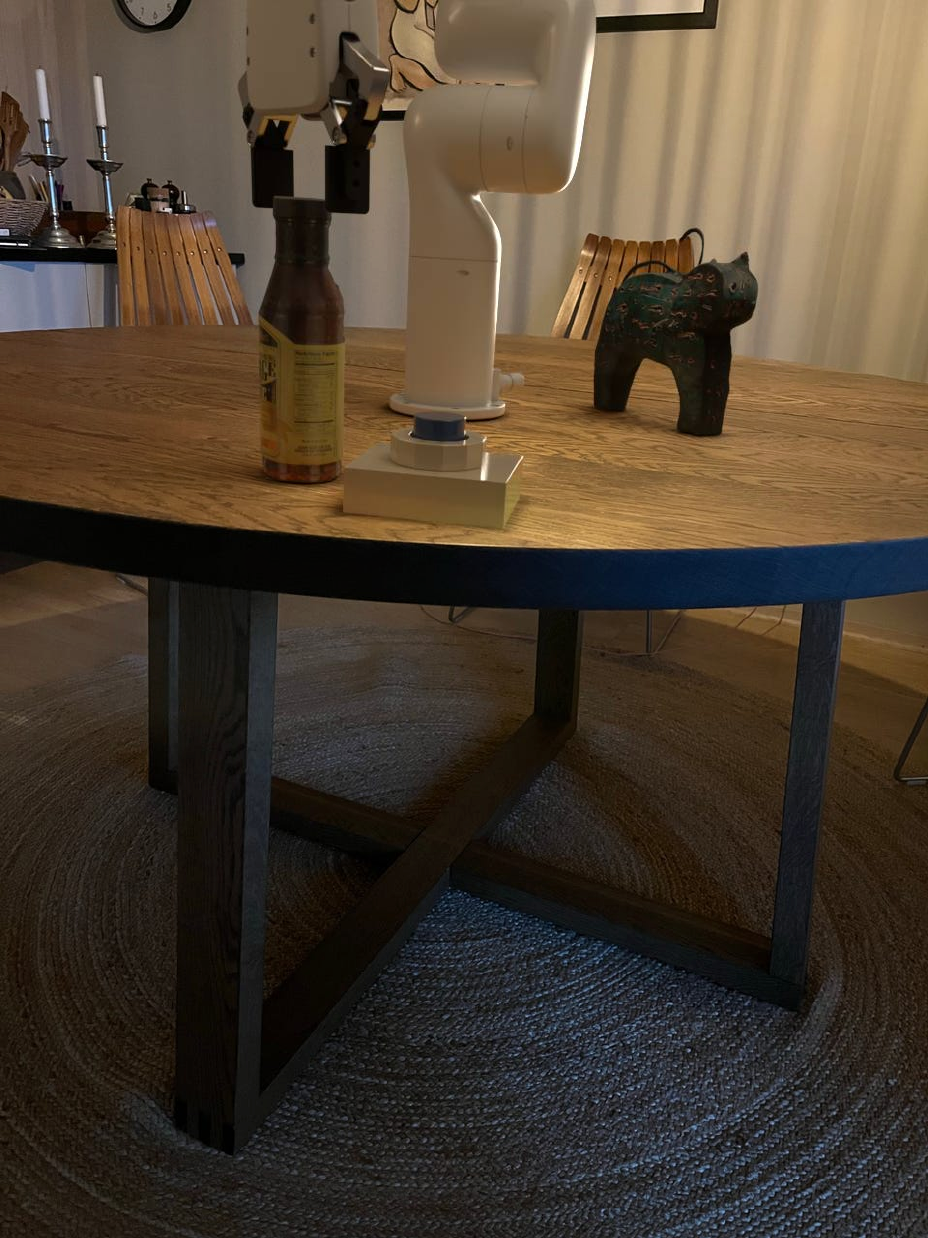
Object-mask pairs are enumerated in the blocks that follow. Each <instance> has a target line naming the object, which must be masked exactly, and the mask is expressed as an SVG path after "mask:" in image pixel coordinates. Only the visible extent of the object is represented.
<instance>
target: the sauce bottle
mask: <svg viewBox="0 0 928 1238" xmlns="http://www.w3.org/2000/svg"><path fill="white" fill-rule="evenodd" d="M272 217H273V219H274V222H275V227H274V228H275V232H274V234H275V252H274V257H273V258H274V264H273V268H272V270H271V274H270V277H269V280H268V283H267V285H266V289H265V292H264V295H263V298H262V301H261V304H260V307H259V311H258V312H257V313H258V317H257V318H258V366H259V367H258V368H259V369H258V373H259V420H260V421H259V422H260V423H259V426H260V428H259V429H260V455H261V457H262V468H263V471H264V473H265V474H266V475H267V476H268V477H270V478H271V479H272V480H275V481H277V482H286V483H296V484H310V483H311V484H323V483H328V482H331V481H333V480H334V479H336V478H337V477H339V476H340V475H341V472H342V470H343V465H342V459H343V457H344V429H345V427H344V426H345V425H344V423H345V371H346V370H345V369H346V338H345V336H344V335H345V333H344V332H345V324H344V322H345V321H344V320H345V311H346V310H345V303H344V297H343V295H342V292H341V289H340V287H339V284H337V283H336V282H335V280H334V277H333V276H332V273H331V271H330V269H329V265H330V260H331V257H330V255H329V253H330V252H329V250H330V249H329V248H330V247H329V246H330V239H329V238H330V237H329V235H330V234H329V233H330V230H329V229H330V227H331V225H332V221H333V220H332V219H333V213H329V212H327V210H326V209H325V198H315V197H303V196H302V197H300V196H294V197H288V196H287V197H284V196H274V198H273V208H272Z"/></svg>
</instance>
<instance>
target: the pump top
mask: <svg viewBox="0 0 928 1238" xmlns="http://www.w3.org/2000/svg"><path fill="white" fill-rule="evenodd" d="M466 423H467V420H466V417H465V416H463V415H460V414H456V413H450V412H439V411H427V412H419V413H416V414H414V416H413V426H412V427H413V438H417V439H421V440H428V441H439V442H453V441H463V440H465V430H466V425H467V424H466Z"/></svg>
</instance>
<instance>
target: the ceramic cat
mask: <svg viewBox="0 0 928 1238" xmlns="http://www.w3.org/2000/svg"><path fill="white" fill-rule="evenodd" d="M693 233H696V234H697V235H698V236H699V238H700V240H701V251H700V255H699V259H698V262H697V263H698V264H697V265H696V266H695V267H693V268H692V269H691V270H689V271H688V272H687V273H684V272H682V271H681V272H680V271H679V270H677V269H676V268H673V267H672V266H670V265H669V264H667V263H666V262H663V261H661V260H657V259H656V260H655V259H653V260H645V261H642V262H639V263H637V264H635V265H633V266H632V267H631V268H630V269H629V270H628V271H627V273H626V275H625V276H624V277H623V279H622V282H621V283H620V285H619V286H618V287H617V289H616V290H615V291H614V293H613V294H612V295H611V297H610V299H609V301H608V303H607V306H606V308H605V311H604V314H603V318H602V322H601V326H600V330H599V336H598V340H597V343H596V345H595V350H594V362H593V381H592V382H593V408H595V409H597V410H600V411H604V412H607V413H615V412H618V413H619V412H620V413H621V412H625V411H626V409H627V405H628V401H629V398H630V395H631V390H632V388H633V385H634V382H635V378H636V376H637V373H638V371H639V369H640V367H641V364H642V363H643V360H646V359H647V360H650V361H652V362H654V363H656V364H660V365H663V366H665V367H667V368H668V369H669V370H670V371H671V373H672V376H673V379H674V383H675V385H676V389H677V393H678V397H679V398H678V399H679V400H678V401H679V411H678V417H677V422H676V431H678V432H681V433H689V434H694V435H696V436H698V437H707V436H718V435H719V436H720V435H722V433H723V427H724V420H725V413H726V407H727V403H728V398H729V395H730V374H731V368H732V367H731V366H732V358H733V353H732V351H733V350H732V343H731V339H732V338H731V337H732V336H731V332H732V330H733V329H735V328H737V327H739V326H742V325H744V324H746V323H747V322H749V321H750V320H751V319H752V318H753V316H754V312H755V310H756V306H757V300H758V293H759V284H758V280H757V278H756V277H755V275H754V274H753V271H751V270H750V258H749V253H748V251H744V252H742V253H741V254H739V255H738V257H736V258H735V259H733V260H732V261H730V262H717V259H716V258H715V257H714V258H712V259H711V260H710V261H707V262H703V257H704V251H705V250H704V249H705V236H704V233H703V232H702V230H701V229H700V228H698V227H693V228H688V229H687V230H686V231H684V233H683V234H682V235H681V237H680V239H679V240H680V243H682V242H683V241H684V240H685V239H686V238H687V237H688V236H690V235H691V234H693ZM651 265H658V266H661V267H663V268H664V269H666V271H664V272H658V273H657V272H645V273H643V272H642V273H639V274H635V275H633V274H634V273H635V272H636V271H638V269H641V268H644V267H648V266H651Z"/></svg>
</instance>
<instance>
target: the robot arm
mask: <svg viewBox="0 0 928 1238" xmlns="http://www.w3.org/2000/svg"><path fill="white" fill-rule="evenodd" d="M596 13H597V11H596V6H595V0H438V2H437V8H436V15H435V22H434V24H435V25H434V36H433V51H434V56H435V57H434V58H435V59H436V63H437V65H438V67H439V68H440V70H441V71H442V72H443V74H445V75H446V76H448V77H450V78H452V79H454V80H457V81H460V82H464V83H447V84H440V85H435V86H431V87H428V88H425V89H424V90H421V91H420V92H418V93H417V94H416V95H415V96H414V97H413V98H412V99H411V101H410V102H409V103H408V105H407V107H406V110H405V113H404V118H403V124H402V139H403V148H404V158H405V168H406V174H407V175H406V176H407V184H408V186H407V187H408V199H409V234H408V235H409V238H408V239H409V241H408V263H407V264H408V265H407V293H406V294H407V295H406V296H407V297H406V325H405V351H404V352H405V355H404V385H403V392H398V393H394V394H392V395H390V397H389V408H390V409H391V410H393V411H395V412H397V413H401V414H405V415H408V416H413V417H414V414H416V413H419V412H427V411H439V412H450V413H456V414H460V415H463V416H465V417H466V421H467V420H468V421H469V420H474V421H475V420H489V419H493V418H498V417H501V416H503V415H505V413H506V403H505V402H504V401H502V400H501V399H500V398H499V397H500V395H501V394H502V393H503V392H504V391H505V392H517V391H521V390H524V387H525V383H526V381H525V377H524V376H523V373H519V372H514V373H513V372H512V373H506V374H503V373H502V371H501V369H500V368H495V367H494V364H495V350H496V335H497V334H496V333H497V321H498V320H497V319H498V305H499V304H498V303H499V289H500V288H499V287H500V276H501V261H502V241H501V240H502V239H501V236H500V232H499V229H498V227H497V224H496V223H495V221H494V219H493V218H492V216H491V214H490V212H489V211H488V210H487V207H486V206H485V205H484V203H483V202H482V199H481V197H480V195H481V194H493V193H503V194H520V195H521V194H523V195H552V194H556V193H559V192H561V191H563V190H565V188H566V187H568V185H569V184H570V183H571V181H572V180H573V177H574V174H575V172H576V168H577V165H578V161H579V155H580V149H581V144H582V136H583V129H584V124H585V123H584V122H585V117H586V111H587V103H588V96H589V90H590V84H591V83H590V82H591V77H592V71H593V63H594V56H595V47H596V39H597V38H596V36H597V35H596V34H597V14H596ZM245 24H246V26H245V28H246V29H245V30H246V32H245V57H246V59H245V61H246V63H245V65H246V70H245V72H244V73H243V74H242V76H241V77H240V79H239V80H238V83H237V91H238V95H239V100H240V103H241V108H242V117H241V118H242V120H243V123H244V125H245V127H246V130H247V132H246V142H247V145H248V147H249V148H250V177H251V179H250V180H251V202H252V206H254V207H255V208H257V209H273V198H274V196H284V197H287V196H288V197H295V173H294V171H295V170H294V169H295V168H294V166H295V165H294V163H295V162H294V161H295V160H294V149H287V148H288V146H289V143H290V141H291V138H292V136H293V133H294V129H295V127H296V124H297V122H298V119H299V117H301V118H302V119H303V120H304V121H309V122H322V123H323V125H324V127H325V129H326V132H327V134H328V137H329V139H330V141H331V144H332V145H331V144H329V145H327V144H326V145H324V199H325V209H326V210H327V212H329V213H332V214H347V215H348V214H350V215H367V214H368V213H369V212H370V202H371V201H370V200H371V199H370V198H371V197H370V196H371V194H370V193H371V149H373V148H374V147H375V145H376V142H377V135H376V129H377V128H378V126H379V124H380V122H381V120H382V119H383V114H384V109H383V104H384V101H385V97H386V94H387V90H388V86H389V83H390V79H391V70H390V69H389V67H388V66H387V65H386V64H385V63H384V62H383V61H382V60H380V40H379V37H380V36H379V19H378V3H377V0H246V23H245ZM465 82H466V83H465ZM497 84H498V85H497ZM529 85H530V86H529ZM275 121H278V124H276V123H275Z"/></svg>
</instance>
